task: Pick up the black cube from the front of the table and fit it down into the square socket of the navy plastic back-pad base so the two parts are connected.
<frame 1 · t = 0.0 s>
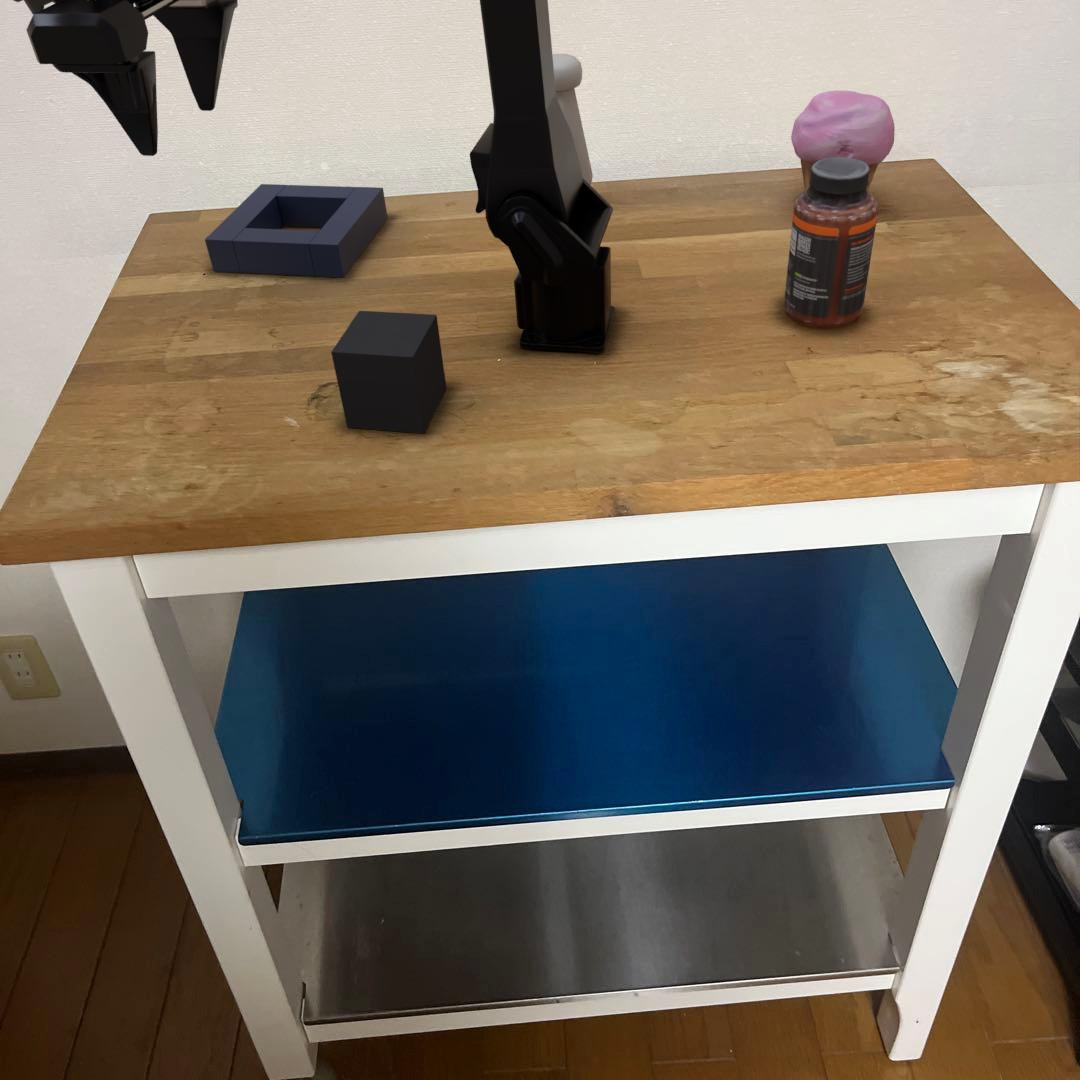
hand: (179, 131, 75), 15 cm above the worktop, tool pointing down, fingers open, 9 cm apart
salt shaker: (562, 204, 98), on the worktop
cupcake: (832, 208, 94), on the worktop
supplement bottle: (821, 314, 80), on the worktop
black cube: (397, 408, 72), on the worktop
pad base: (303, 244, 94), on the worktop
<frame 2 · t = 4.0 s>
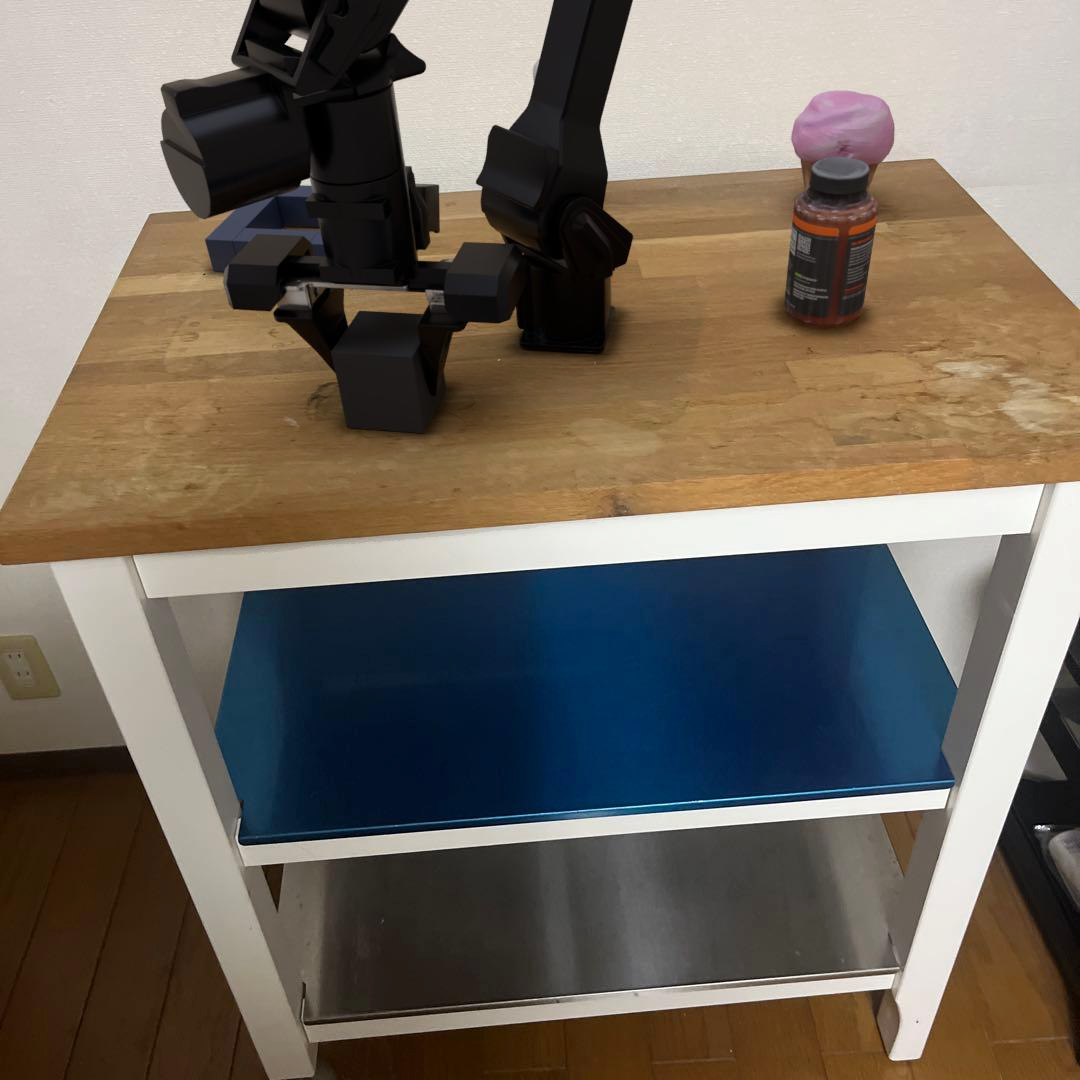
hand: (395, 389, 71), 2 cm above the worktop, tool pointing down, fingers closed on black cube, 5 cm apart
black cube: (397, 408, 72), on the worktop, touching gripper
everything else where it was.
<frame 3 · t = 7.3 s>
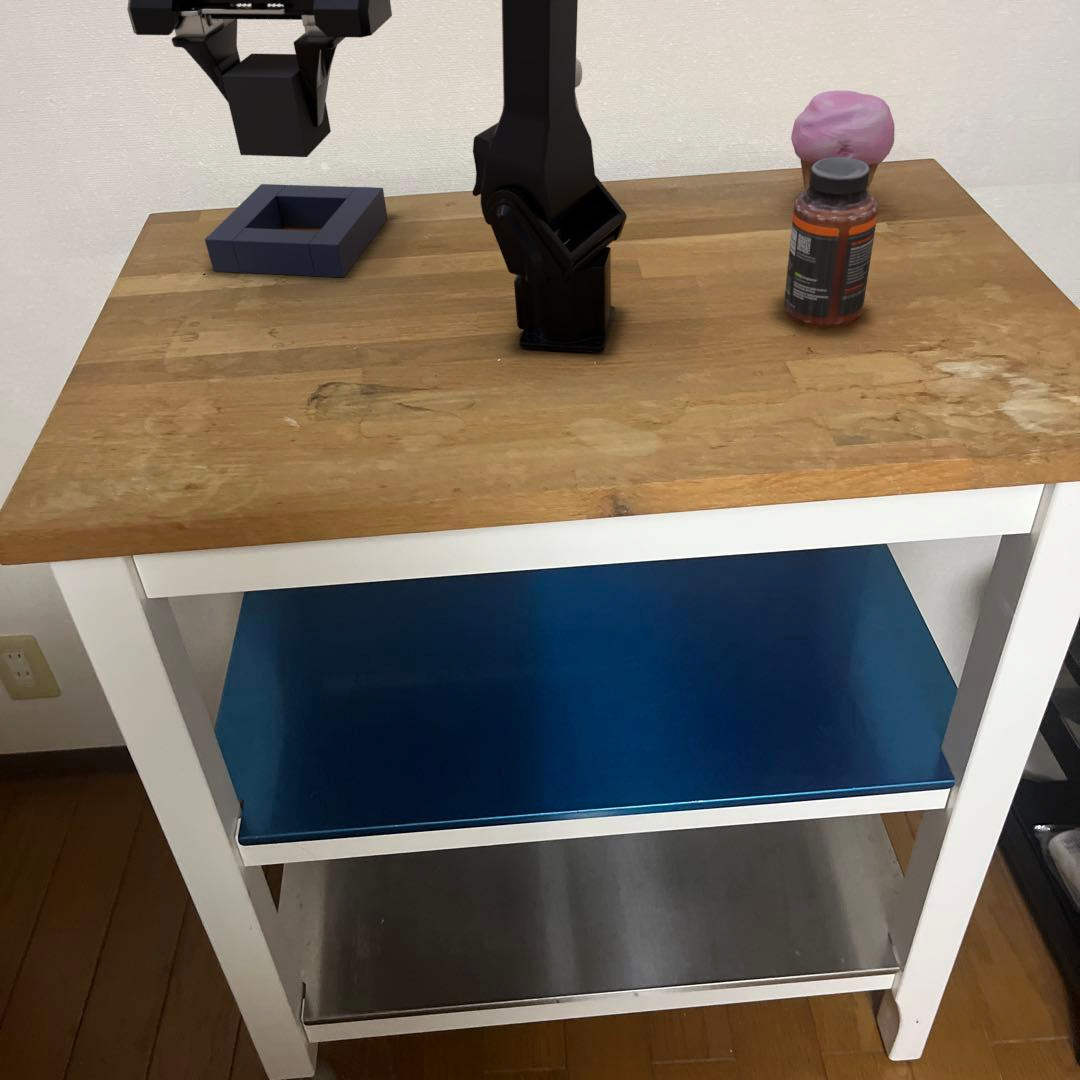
hand: (283, 123, 82), 12 cm above the worktop, tool pointing down, fingers closed on black cube, 5 cm apart
black cube: (286, 143, 83), point 11 cm above the worktop, touching gripper
everything else where it was.
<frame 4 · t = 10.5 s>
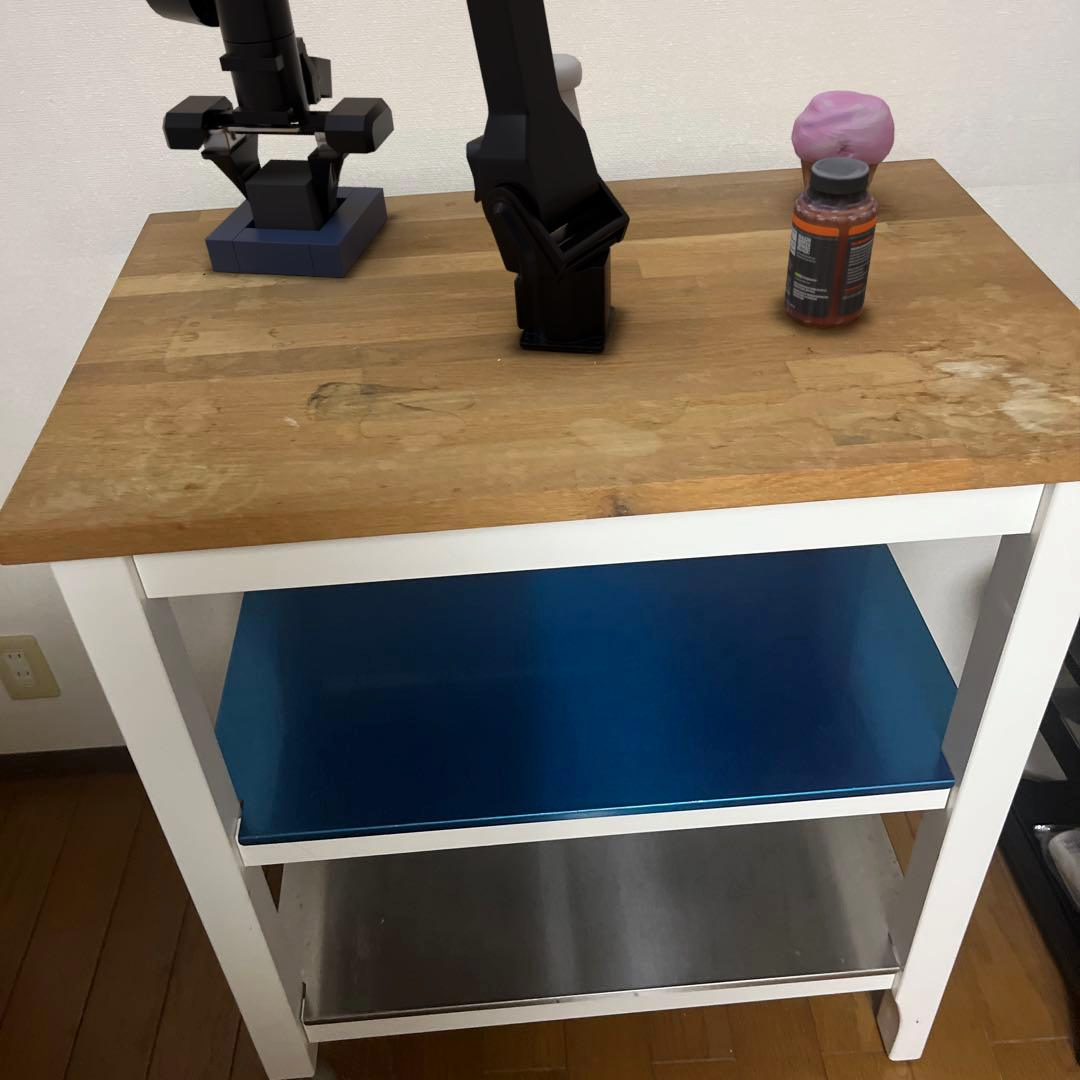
hand: (298, 220, 92), 2 cm above the worktop, tool pointing down, fingers closed on black cube, 5 cm apart
black cube: (301, 237, 93), point 1 cm above the worktop, touching gripper
everything else where it was.
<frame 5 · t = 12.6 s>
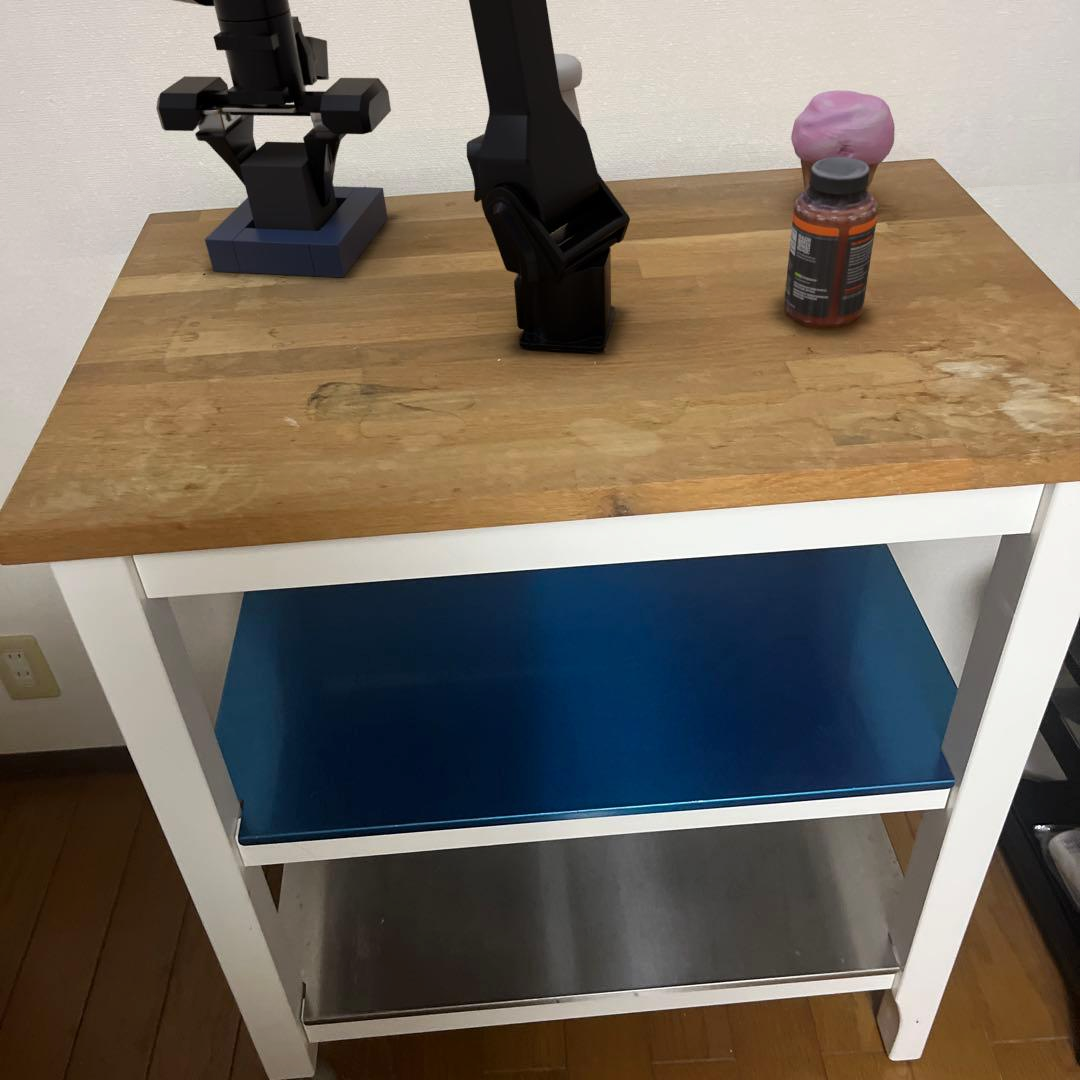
hand: (294, 203, 91), 4 cm above the worktop, tool pointing down, fingers closed on black cube, 5 cm apart
black cube: (297, 220, 92), point 2 cm above the worktop, touching gripper
everything else where it was.
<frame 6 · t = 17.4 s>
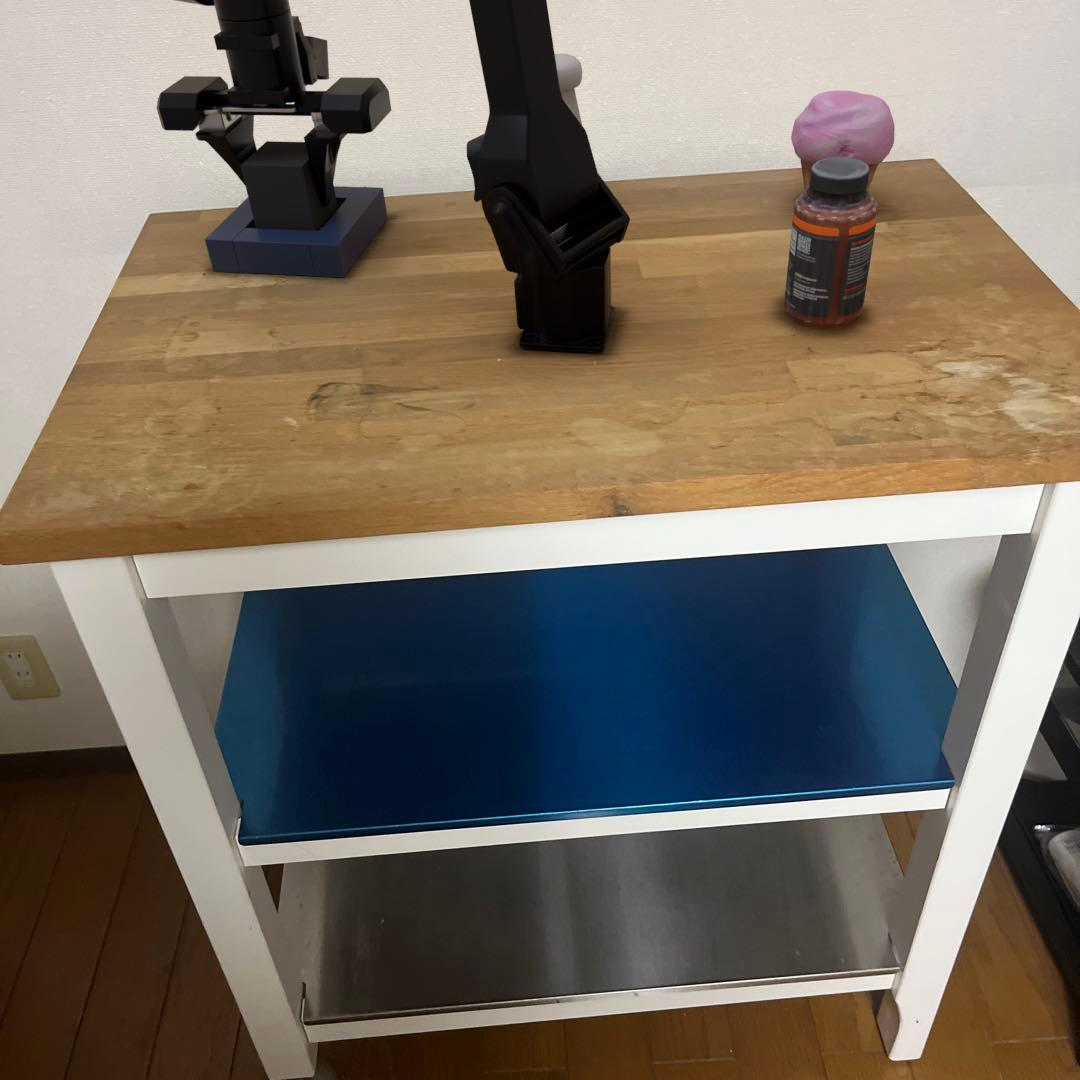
hand: (295, 203, 91), 4 cm above the worktop, tool pointing down, fingers closed on black cube, 6 cm apart
black cube: (298, 220, 92), point 2 cm above the worktop, touching gripper
everything else where it was.
when the fingers open (4 cm above the worktop, at t = 21.5 s): black cube drops 2 cm, resting in pad base.
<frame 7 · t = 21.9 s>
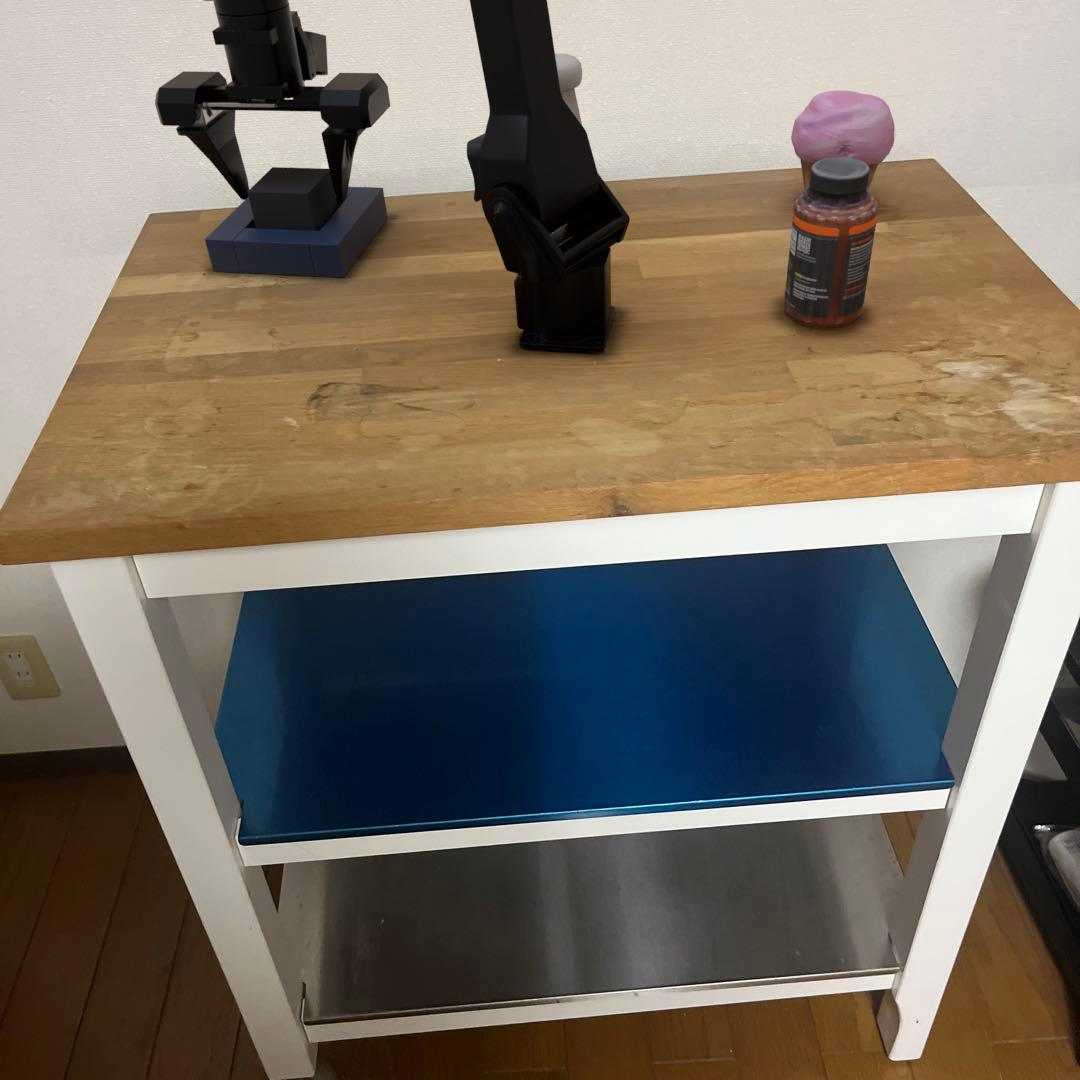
hand: (293, 199, 91), 4 cm above the worktop, tool pointing down, fingers open, 9 cm apart
black cube: (303, 244, 94), resting in pad base
everything else where it was.
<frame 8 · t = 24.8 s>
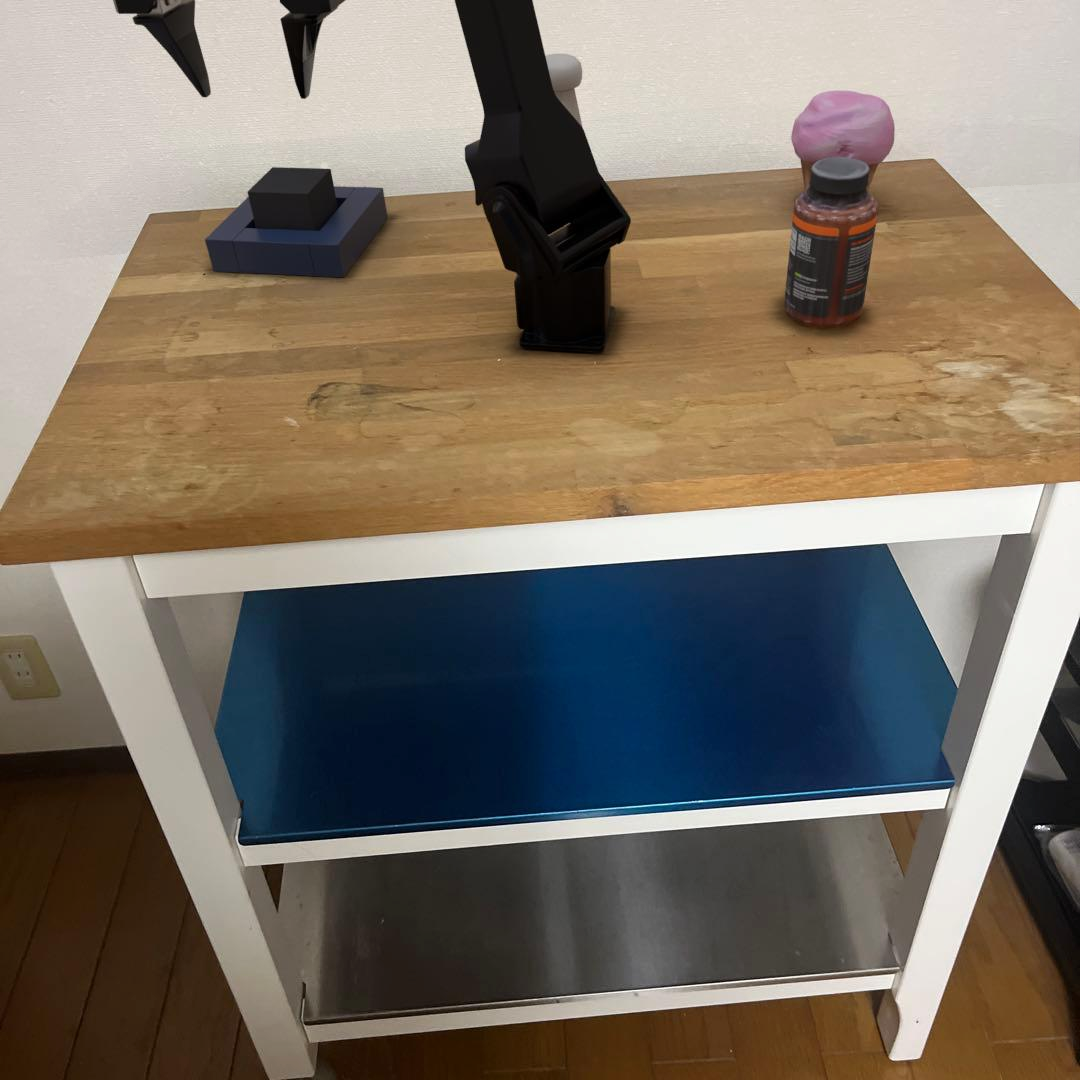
hand: (255, 96, 89), 12 cm above the worktop, tool pointing down, fingers open, 9 cm apart
nothing on the worktop moved.
at the end: black cube 0.1 cm off-centre in the pad base, point 0.0 cm above the pad base's base; black cube tilted 0°; the gripper is holding nothing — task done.
